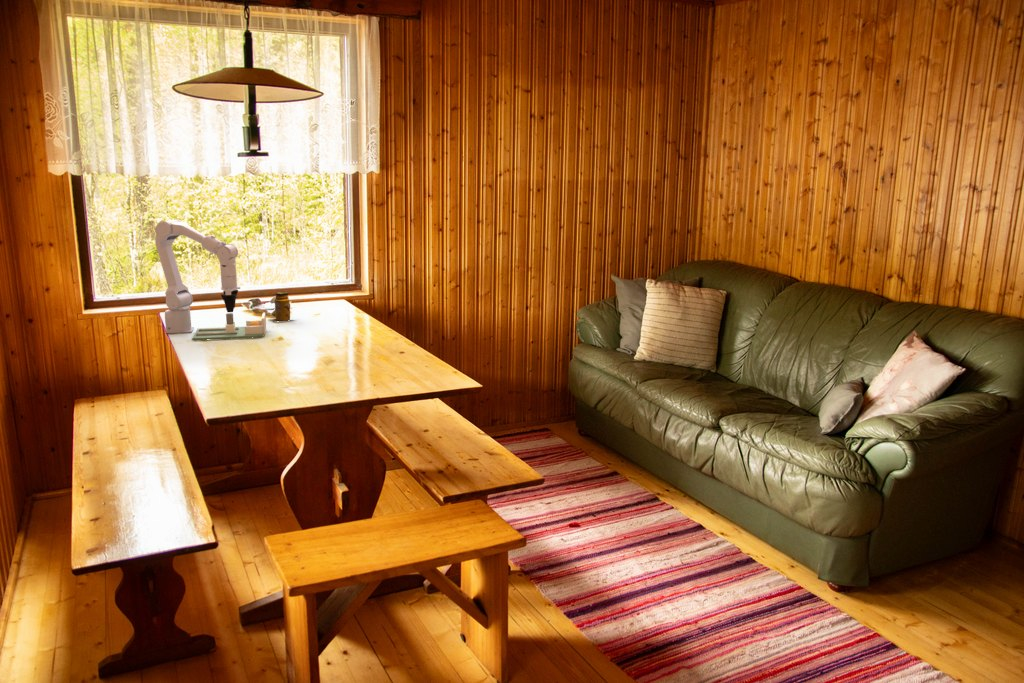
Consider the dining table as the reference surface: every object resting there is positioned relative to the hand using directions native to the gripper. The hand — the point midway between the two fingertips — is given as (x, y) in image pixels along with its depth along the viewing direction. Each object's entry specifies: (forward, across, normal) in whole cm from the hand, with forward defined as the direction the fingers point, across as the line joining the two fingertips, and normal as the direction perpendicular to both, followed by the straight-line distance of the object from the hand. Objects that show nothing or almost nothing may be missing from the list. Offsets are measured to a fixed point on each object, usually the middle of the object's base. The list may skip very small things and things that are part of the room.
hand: (230, 310), depth 320 cm
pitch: (+10, 0, +1) cm, 10 cm away
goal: (+9, 0, -9) cm, 12 cm away
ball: (+7, 0, -9) cm, 11 cm away
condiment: (+10, +24, -18) cm, 32 cm away
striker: (+8, 0, +1) cm, 8 cm away
